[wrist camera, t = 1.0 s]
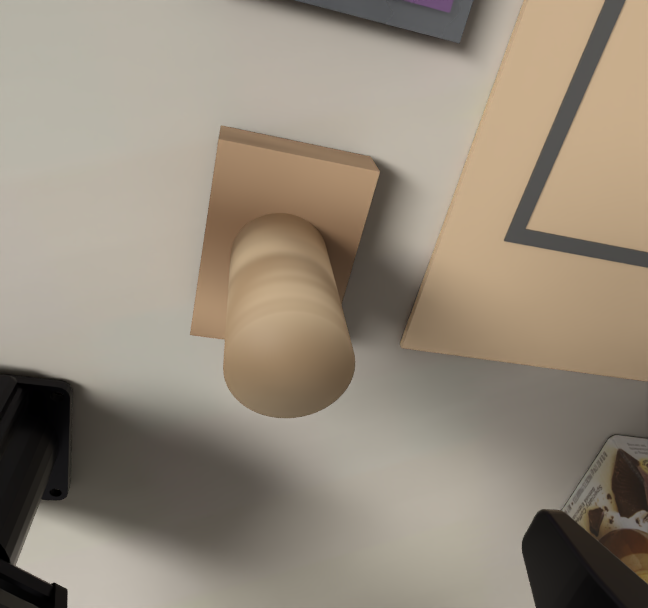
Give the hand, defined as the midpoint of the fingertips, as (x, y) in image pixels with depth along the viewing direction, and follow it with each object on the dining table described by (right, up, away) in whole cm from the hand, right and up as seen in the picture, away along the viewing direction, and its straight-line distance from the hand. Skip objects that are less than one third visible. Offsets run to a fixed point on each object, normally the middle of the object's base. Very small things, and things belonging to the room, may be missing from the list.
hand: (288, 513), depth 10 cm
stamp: (-1, +6, +11) cm, 13 cm away
